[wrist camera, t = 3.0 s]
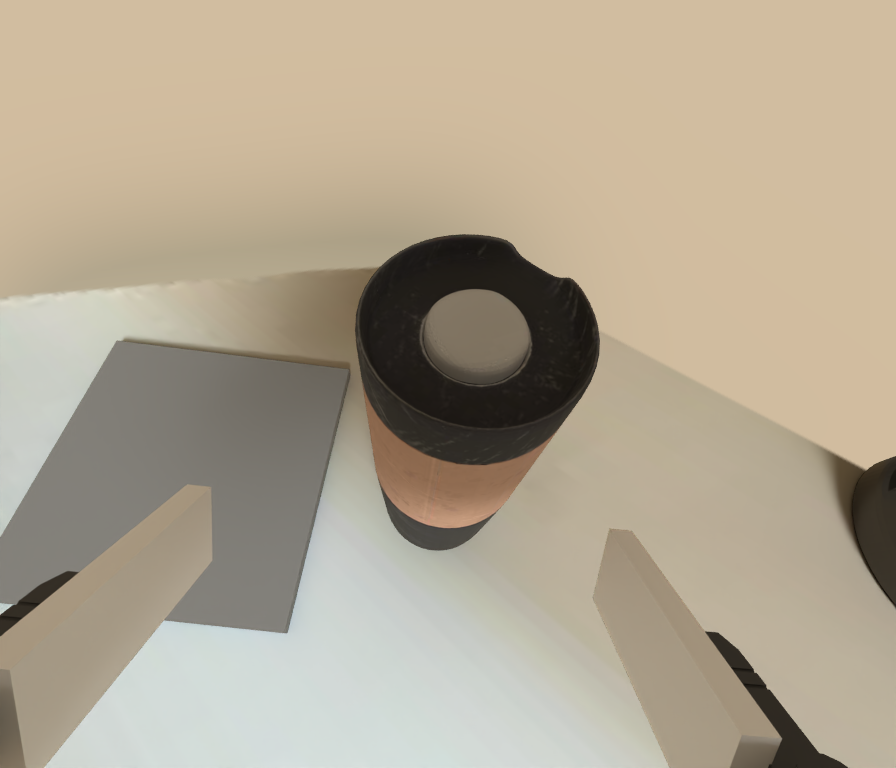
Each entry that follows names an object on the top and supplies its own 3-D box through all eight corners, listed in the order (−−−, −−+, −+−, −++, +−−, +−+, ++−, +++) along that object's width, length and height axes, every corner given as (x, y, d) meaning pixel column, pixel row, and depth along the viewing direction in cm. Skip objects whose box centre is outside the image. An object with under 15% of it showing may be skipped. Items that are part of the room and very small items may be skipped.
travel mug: (385, 562, 28) (351, 448, 11) (380, 450, 32) (349, 231, 14) (500, 548, 29) (641, 425, 12) (482, 442, 33) (568, 228, 15)
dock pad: (350, 374, 35) (349, 369, 34) (287, 633, 25) (283, 632, 25) (122, 346, 34) (116, 340, 33) (-24, 599, 25) (-37, 599, 24)
